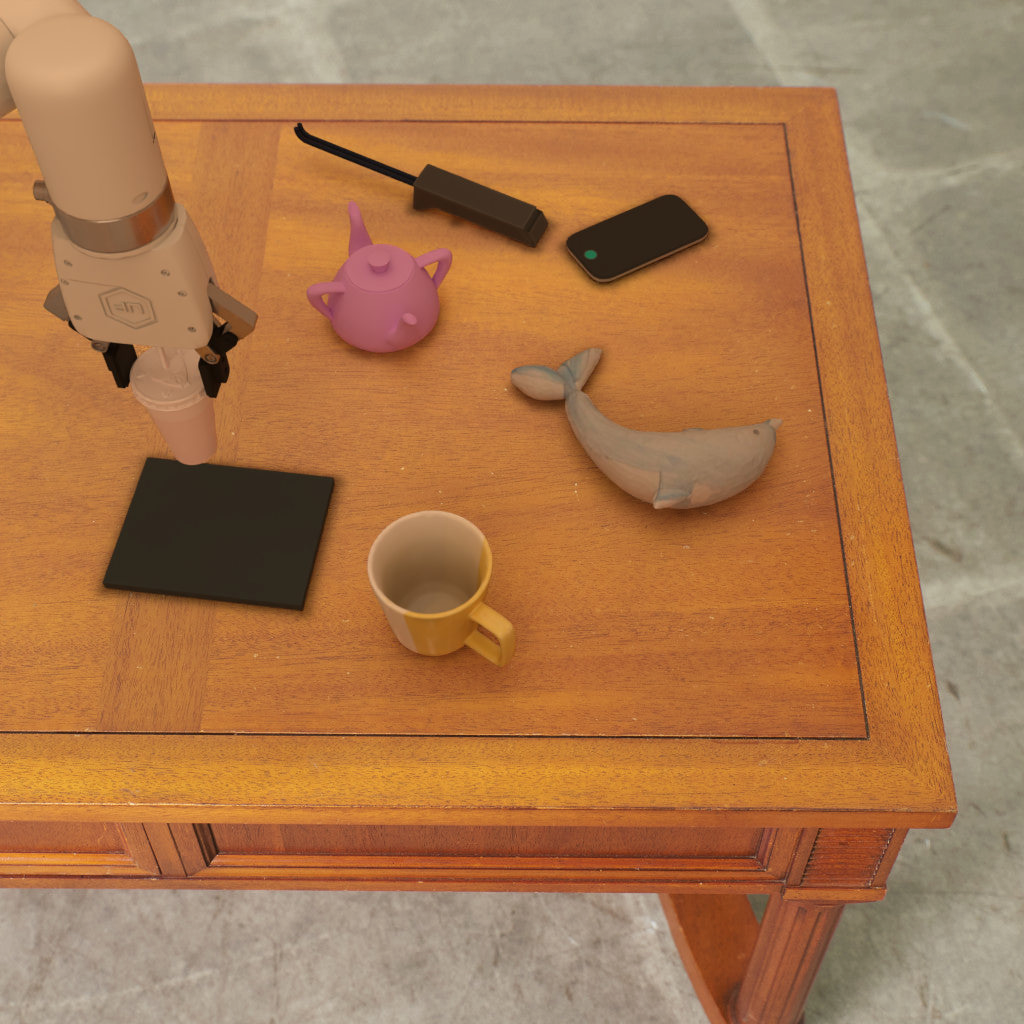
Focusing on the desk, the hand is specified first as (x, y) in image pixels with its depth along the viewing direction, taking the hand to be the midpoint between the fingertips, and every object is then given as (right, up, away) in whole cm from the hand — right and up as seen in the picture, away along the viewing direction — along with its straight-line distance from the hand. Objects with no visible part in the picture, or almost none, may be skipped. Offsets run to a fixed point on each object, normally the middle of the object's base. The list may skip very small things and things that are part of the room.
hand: (172, 377), depth 99 cm
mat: (0, -12, +18) cm, 22 cm away
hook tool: (+16, +25, +44) cm, 53 cm away
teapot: (+13, +9, +33) cm, 37 cm away
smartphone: (+40, +19, +40) cm, 60 cm away
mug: (+21, -21, +13) cm, 32 cm away
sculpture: (+40, -2, +26) cm, 48 cm away
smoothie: (0, -5, +8) cm, 9 cm away
